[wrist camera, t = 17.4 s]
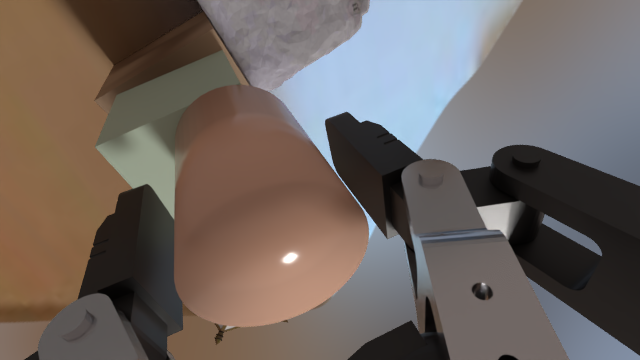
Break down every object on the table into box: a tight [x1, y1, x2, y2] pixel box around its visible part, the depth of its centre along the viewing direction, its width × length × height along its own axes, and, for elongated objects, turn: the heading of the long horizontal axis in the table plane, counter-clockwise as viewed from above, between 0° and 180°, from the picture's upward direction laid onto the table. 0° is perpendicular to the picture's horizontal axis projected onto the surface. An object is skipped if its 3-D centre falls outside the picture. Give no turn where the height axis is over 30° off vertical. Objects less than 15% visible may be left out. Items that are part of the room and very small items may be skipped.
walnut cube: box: [94, 11, 250, 114], centre depth 18 cm, size 6×6×6 cm
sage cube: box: [95, 50, 241, 219], centre depth 14 cm, size 5×5×5 cm
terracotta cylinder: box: [174, 85, 369, 327], centre depth 10 cm, size 4×4×6 cm
